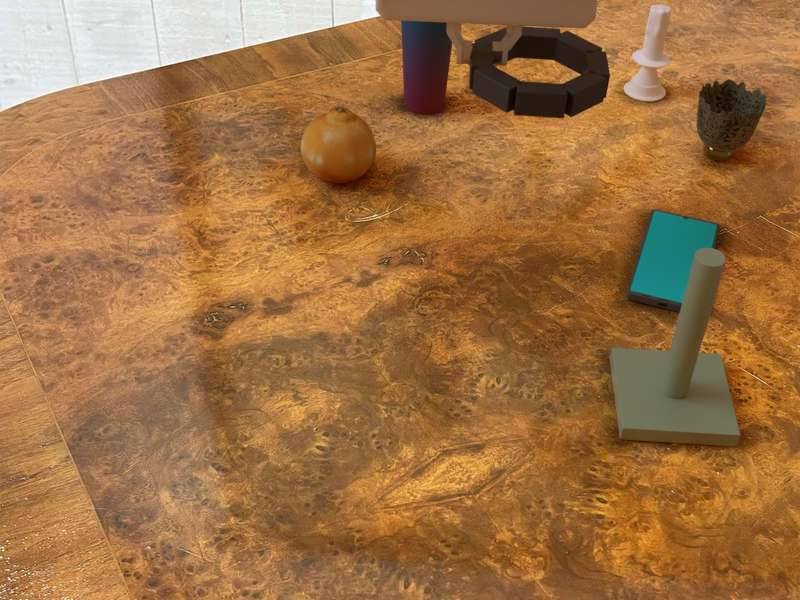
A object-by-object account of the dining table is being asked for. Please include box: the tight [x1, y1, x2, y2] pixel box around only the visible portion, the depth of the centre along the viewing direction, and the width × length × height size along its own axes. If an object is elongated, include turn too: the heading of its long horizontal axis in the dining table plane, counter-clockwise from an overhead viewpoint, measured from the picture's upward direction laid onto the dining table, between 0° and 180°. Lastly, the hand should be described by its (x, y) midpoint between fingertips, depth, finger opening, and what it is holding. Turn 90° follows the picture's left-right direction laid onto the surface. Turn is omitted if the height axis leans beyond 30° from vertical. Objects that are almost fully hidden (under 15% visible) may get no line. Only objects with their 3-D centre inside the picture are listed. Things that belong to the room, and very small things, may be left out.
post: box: [609, 248, 741, 447], centre depth 90 cm, size 10×10×16 cm
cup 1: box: [400, 21, 453, 115], centre depth 128 cm, size 7×7×15 cm
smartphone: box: [625, 208, 721, 313], centre depth 110 cm, size 7×1×15 cm
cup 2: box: [696, 78, 768, 162], centre depth 123 cm, size 8×7×8 cm
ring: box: [468, 26, 611, 119], centre depth 102 cm, size 13×13×2 cm
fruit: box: [300, 106, 377, 184], centre depth 119 cm, size 8×8×8 cm
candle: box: [623, 3, 672, 102], centre depth 133 cm, size 5×5×12 cm
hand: (480, 62), depth 102 cm, fingers closed on ring, 2 cm apart
